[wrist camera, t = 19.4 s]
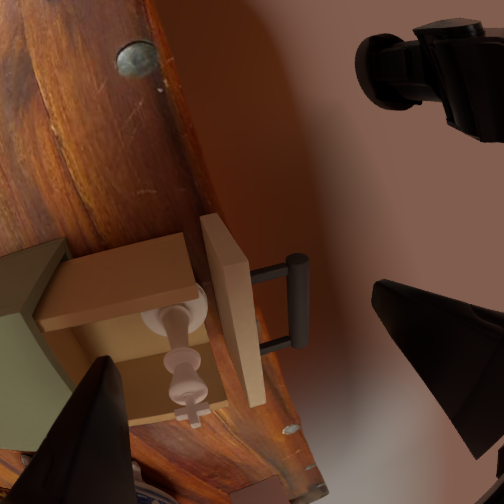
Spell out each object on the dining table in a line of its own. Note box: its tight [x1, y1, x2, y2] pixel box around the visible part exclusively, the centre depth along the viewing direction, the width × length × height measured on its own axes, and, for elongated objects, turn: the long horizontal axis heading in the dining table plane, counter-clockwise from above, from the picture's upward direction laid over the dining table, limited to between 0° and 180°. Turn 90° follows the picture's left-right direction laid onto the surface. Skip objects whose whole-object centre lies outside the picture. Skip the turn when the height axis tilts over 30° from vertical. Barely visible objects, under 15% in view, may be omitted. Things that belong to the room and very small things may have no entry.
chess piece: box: [140, 283, 211, 428], centre depth 16 cm, size 5×5×10 cm
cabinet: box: [0, 237, 77, 451], centre depth 15 cm, size 15×13×9 cm
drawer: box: [31, 213, 309, 426], centre depth 18 cm, size 18×11×7 cm, turn 96°
